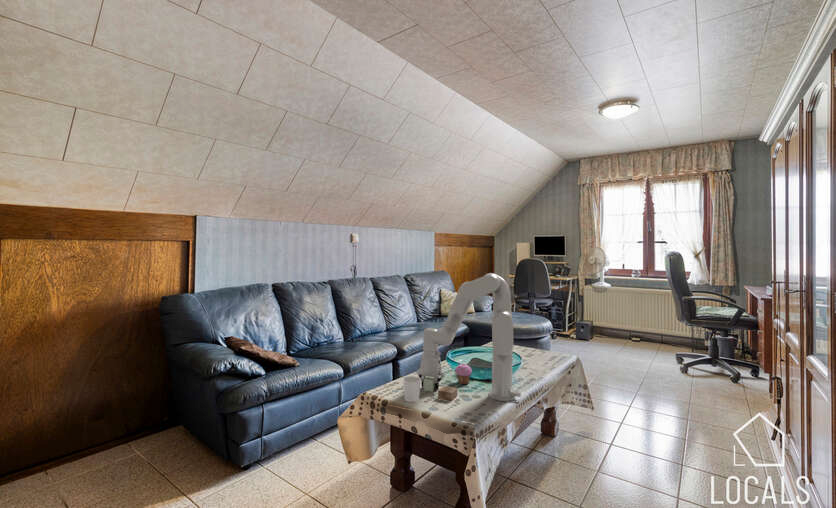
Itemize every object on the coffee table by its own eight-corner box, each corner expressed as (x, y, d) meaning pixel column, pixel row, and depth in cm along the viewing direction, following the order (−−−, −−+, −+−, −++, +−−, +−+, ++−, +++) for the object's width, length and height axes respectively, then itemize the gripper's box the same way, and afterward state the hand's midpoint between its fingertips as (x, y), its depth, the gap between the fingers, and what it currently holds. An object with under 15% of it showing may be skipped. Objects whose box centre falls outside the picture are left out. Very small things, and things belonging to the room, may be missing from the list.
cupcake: (458, 386, 202) (458, 367, 202) (452, 381, 211) (452, 362, 211) (474, 385, 205) (474, 366, 205) (467, 379, 213) (467, 361, 213)
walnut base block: (457, 396, 187) (457, 388, 187) (451, 401, 181) (451, 392, 181) (443, 393, 191) (443, 385, 191) (437, 398, 184) (438, 390, 184)
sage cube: (436, 389, 198) (436, 377, 198) (432, 392, 193) (432, 380, 193) (427, 387, 200) (427, 376, 200) (423, 391, 196) (423, 379, 195)
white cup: (418, 404, 179) (418, 382, 179) (401, 402, 180) (401, 381, 180) (421, 397, 186) (421, 376, 186) (405, 396, 188) (405, 375, 188)
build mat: (469, 397, 187) (469, 396, 187) (461, 406, 177) (461, 405, 176) (435, 391, 195) (435, 390, 195) (425, 399, 185) (425, 398, 185)
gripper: (449, 353, 196) (448, 389, 196) (418, 349, 204) (417, 383, 204) (443, 357, 189) (442, 394, 189) (411, 352, 197) (411, 388, 197)
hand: (430, 388), depth 197 cm, fingers open, 6 cm apart
